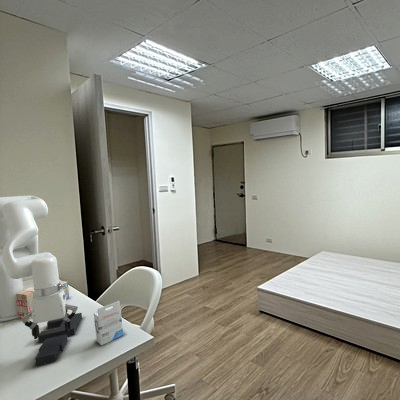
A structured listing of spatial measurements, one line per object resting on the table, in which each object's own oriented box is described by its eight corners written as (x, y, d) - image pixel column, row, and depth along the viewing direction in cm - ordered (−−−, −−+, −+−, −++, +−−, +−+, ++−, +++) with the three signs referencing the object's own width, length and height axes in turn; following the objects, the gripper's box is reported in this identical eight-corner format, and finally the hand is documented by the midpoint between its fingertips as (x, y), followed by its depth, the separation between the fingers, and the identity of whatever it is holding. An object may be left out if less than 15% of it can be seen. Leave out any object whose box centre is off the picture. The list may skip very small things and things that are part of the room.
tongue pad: (46, 345, 102) (45, 338, 102) (67, 340, 105) (67, 334, 105) (33, 366, 91) (32, 359, 91) (57, 360, 93) (57, 353, 93)
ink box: (118, 330, 111) (115, 297, 109) (123, 335, 107) (120, 300, 106) (95, 341, 104) (92, 305, 103) (100, 346, 101) (97, 309, 99)
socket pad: (38, 342, 104) (37, 336, 104) (50, 324, 117) (49, 318, 117) (74, 334, 109) (73, 328, 109) (82, 318, 122) (81, 312, 121)
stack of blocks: (59, 296, 145) (58, 275, 143) (69, 298, 143) (67, 276, 142) (17, 318, 124) (15, 292, 122) (28, 319, 123) (26, 294, 121)
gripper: (77, 281, 105) (81, 323, 106) (22, 290, 98) (28, 334, 100) (72, 289, 98) (77, 333, 99) (13, 299, 92) (19, 345, 93)
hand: (52, 333), depth 100 cm, fingers open, 9 cm apart
